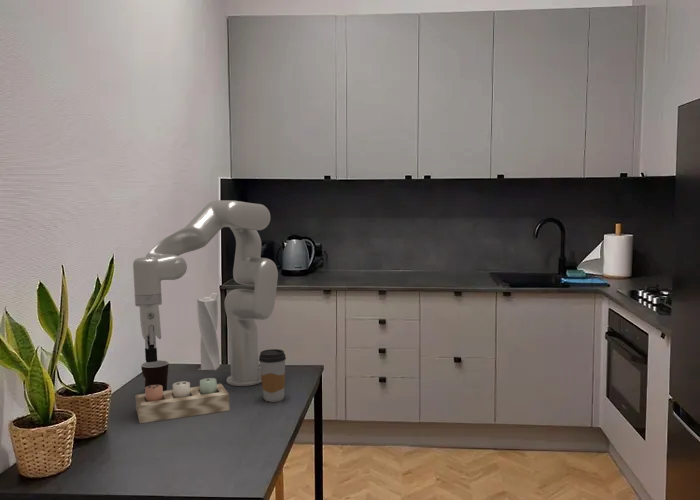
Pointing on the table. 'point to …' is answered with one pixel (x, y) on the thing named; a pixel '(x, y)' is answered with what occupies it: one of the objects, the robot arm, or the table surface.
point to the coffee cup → (272, 374)
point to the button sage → (208, 386)
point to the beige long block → (182, 405)
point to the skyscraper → (208, 332)
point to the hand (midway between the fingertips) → (151, 361)
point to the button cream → (181, 389)
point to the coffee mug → (155, 373)
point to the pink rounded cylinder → (154, 393)
